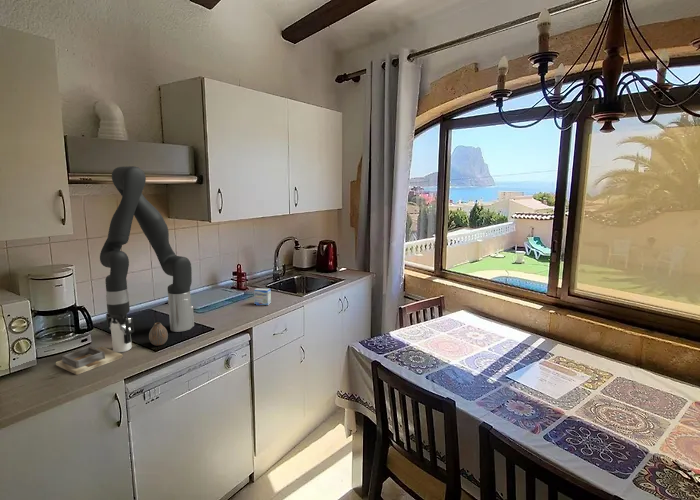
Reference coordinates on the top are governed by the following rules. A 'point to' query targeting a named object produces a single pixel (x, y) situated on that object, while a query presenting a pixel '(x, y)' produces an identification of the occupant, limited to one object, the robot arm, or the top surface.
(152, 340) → the vase
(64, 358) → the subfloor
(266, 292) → the medicine box
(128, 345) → the can
